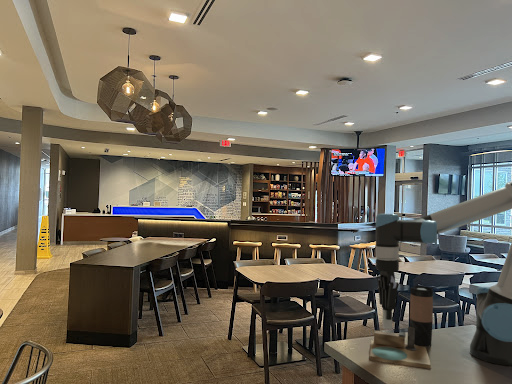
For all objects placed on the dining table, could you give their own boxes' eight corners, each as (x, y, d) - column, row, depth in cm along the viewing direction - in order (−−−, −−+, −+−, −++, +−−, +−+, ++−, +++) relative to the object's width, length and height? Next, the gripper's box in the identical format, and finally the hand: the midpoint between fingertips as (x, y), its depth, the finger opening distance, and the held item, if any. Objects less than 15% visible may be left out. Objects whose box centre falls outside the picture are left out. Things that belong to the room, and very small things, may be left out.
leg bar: (405, 344, 137) (405, 332, 137) (405, 347, 134) (405, 335, 134) (374, 340, 141) (374, 328, 141) (373, 343, 138) (374, 331, 138)
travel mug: (434, 348, 139) (435, 291, 140) (411, 345, 141) (412, 289, 141) (429, 340, 147) (430, 286, 147) (407, 338, 149) (408, 285, 149)
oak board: (425, 350, 137) (425, 326, 137) (430, 368, 122) (431, 341, 122) (371, 343, 143) (371, 320, 143) (369, 359, 127) (370, 334, 128)
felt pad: (406, 350, 134) (406, 349, 134) (408, 362, 123) (408, 361, 123) (372, 345, 137) (372, 344, 137) (371, 357, 127) (371, 356, 127)
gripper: (406, 261, 129) (406, 334, 129) (389, 256, 142) (390, 322, 142) (384, 261, 129) (384, 334, 128) (369, 256, 142) (369, 322, 141)
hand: (387, 328), depth 135 cm, fingers closed
